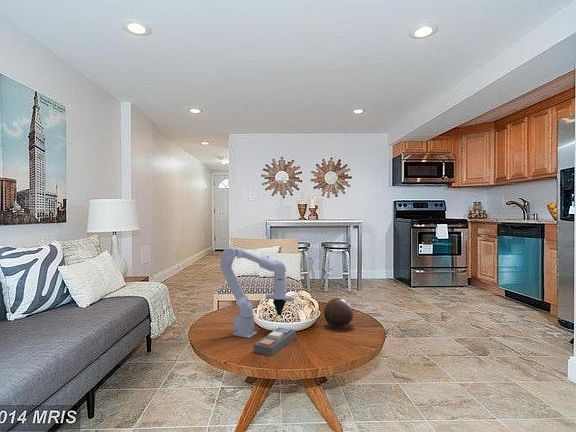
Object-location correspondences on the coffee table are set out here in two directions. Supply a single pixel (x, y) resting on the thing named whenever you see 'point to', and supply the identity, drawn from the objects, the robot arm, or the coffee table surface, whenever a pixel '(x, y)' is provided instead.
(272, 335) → the white key
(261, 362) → the coffee table surface
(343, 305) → the wooden sphere
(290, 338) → the key console
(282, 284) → the robot arm
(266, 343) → the terracotta key
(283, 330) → the blue key
